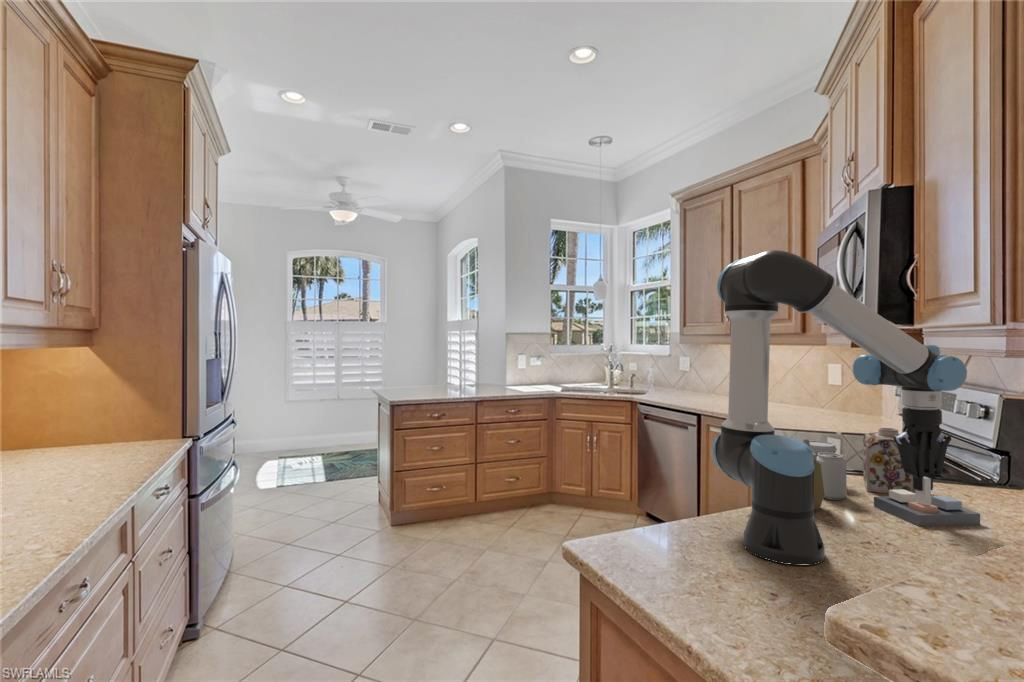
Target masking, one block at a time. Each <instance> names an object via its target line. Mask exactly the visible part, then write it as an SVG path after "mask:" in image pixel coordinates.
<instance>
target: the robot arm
mask: <svg viewBox="0 0 1024 682" xmlns="http://www.w3.org/2000/svg"><path fill="white" fill-rule="evenodd" d="M716 283H717V284H716V290H717V294H718V297H719V298H720V299H721V300H722V302H723V304H724V314H725V316H727V317H728V318H729V319H730V343H729V345H730V347H729V378H728V379H729V380H728V381H729V383H728V386H729V387H728V389H729V390H728V415H727V418H726V419H724V421H723V422H721V425H720V432H719V434H718V436H716V437H715V439H714V441H713V443H712V449H711V450H712V457H713V460H714V463H715V464H716V466H717V467H718V469H719V470H720V471H722V472H723V473H724V474H725V475H726V476H727V477H729V478H730V479H732V480H735V481H737V482H739V483H741V484H742V485H745V486H747V487H749V488H751V512H750V514H749V517H748V518H747V523H746V526H745V529H744V532H743V536H742V537H743V538H742V539H743V540H742V541H743V544H742V545H743V547H744V546H745V547H746V548H745V547H744V548H745V550H747V549H748V550H749V551H750V552H749V551H748V550H747V551H748V552H749V553H751V552H752V553H754V554H756V555H758V556H761V557H763V558H767V559H770V560H774V561H777V562H783V563H791V564H815V563H818V562H821V561H822V562H824V561H825V559H824V558H825V557H826V556H825V554H826V553H825V544H824V541H823V539H822V536H821V534H820V531H819V527H818V525H817V523H816V520H815V510H814V468H815V465H814V460H813V453H812V450H811V448H810V447H809V446H808V445H807V444H805V443H804V442H803V440H799V439H797V438H793V437H787V436H785V435H779V434H775V427H774V426H773V425H772V424H771V423H770V422H769V420H768V419H769V418H768V417H769V388H770V387H769V386H770V385H769V384H770V380H769V379H770V376H769V375H770V350H771V348H770V344H771V342H770V341H771V320H773V318H775V317H776V315H778V314H779V304H783V305H785V306H788V307H791V308H793V309H794V310H796V311H797V312H798V313H802V314H803V313H809V314H811V315H812V316H814V317H815V318H817V320H819V321H821V322H822V323H824V324H826V325H827V326H828V327H830V328H831V329H833V331H836V332H838V334H840V335H841V336H844V338H846V339H848V340H849V341H850V342H852V343H854V344H855V345H856V346H858V347H859V348H861V349H862V350H864V351H866V352H867V354H861V355H858V356H857V357H856V358H855V359H854V361H853V364H852V374H853V376H854V377H853V378H854V379H855V380H856V381H857V382H858V383H860V384H862V385H867V386H868V385H869V386H870V385H871V386H883V385H884V386H891V387H901V405H902V406H904V407H902V408H901V412H902V413H901V415H902V416H901V417H902V418H901V419H902V422H903V424H904V426H903V429H902V433H899V434H900V435H899V436H897V435H895V436H894V437H893V439H894V440H895V442H896V443H897V445H898V449H899V453H900V457H901V461H902V465H903V468H904V472H905V473H907V474H910V475H912V476H913V488H914V489H915V490H916V502H918V503H920V504H923V505H931V496H932V491H933V488H934V480H935V479H938V476H940V475H942V473H943V468H944V463H945V460H946V454H947V449H948V445H949V444H950V442H951V441H952V436H951V435H947V434H944V433H943V432H942V429H941V427H940V425H942V424H943V412H942V411H943V410H942V409H940V408H941V407H942V405H943V404H942V391H943V392H951V391H956V390H957V389H960V388H961V387H962V386H963V385H964V383H965V381H966V380H967V377H968V369H967V366H966V364H965V362H963V360H962V359H960V358H958V357H956V356H952V355H948V354H941V350H940V347H939V346H937V345H934V344H923V343H921V342H919V341H918V340H916V339H915V338H913V337H912V336H910V335H909V334H907V333H906V332H905V331H903V330H902V329H901V328H899V327H898V326H896V325H894V324H893V323H892V322H890V321H889V320H887V319H886V318H884V317H883V316H882V315H880V314H878V313H877V312H876V311H874V310H873V309H872V308H870V307H869V306H867V305H866V304H864V303H863V302H861V301H860V300H859V299H857V298H855V297H854V296H852V295H851V294H850V293H848V292H847V291H845V290H844V289H843V288H841V287H840V286H838V285H836V279H835V277H834V276H833V275H831V273H829V272H827V271H826V270H824V269H823V268H821V267H820V266H819V265H817V264H815V263H814V262H811V261H809V260H808V259H806V258H804V257H801V256H800V255H798V254H795V253H793V252H790V251H786V250H779V249H777V250H776V249H772V250H767V251H766V250H765V251H763V252H760V253H758V254H754V255H750V256H747V257H742V258H740V259H737V260H735V261H732V263H729V264H728V265H727V266H726V267H725V268H723V270H722V271H721V273H720V274H719V276H718V279H717V282H716ZM908 442H909V443H908ZM752 553H751V554H752ZM754 554H753V555H754ZM756 555H755V556H756ZM758 556H757V557H758ZM761 557H760V558H761ZM763 558H762V559H763ZM777 562H776V563H777ZM822 562H821V563H822ZM818 564H819V563H818ZM815 565H816V564H815Z"/></svg>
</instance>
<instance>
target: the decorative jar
mask: <svg viewBox="0 0 1024 682" xmlns="http://www.w3.org/2000/svg"><path fill="white" fill-rule="evenodd" d="M900 434H901V433H899V429H898V428H892V427H879V428H878V432H867V433H865V434H864V435H863V440H862V442H863V446H862V448H863V449H862V451H863V452H862V453H863V454H862V455H863V456H862V464H863V467H862V470H863V474H862V475H863V485H864V487H865V489H866V491H867V492H872V493H879V494H888V495H889V490H898V489H904V490H907V491H910V492H912V493H915V494H916V490H915V489H914V488H913V476H912V475H910V474H907V473H905V472H904V468H903V465H902V461H901V457H900V453H899V449H898V445H897V443H896V442H895V440H894V439H893V437H894V436H895V435H897V436H899V435H900ZM908 443H909V442H908Z"/></svg>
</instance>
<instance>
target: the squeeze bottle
mask: <svg viewBox="0 0 1024 682" xmlns="http://www.w3.org/2000/svg"><path fill="white" fill-rule="evenodd" d="M809 441H810V439H808V438H804V439H803V440H802V442H804V443H805V444H807V445H808V446H809V447H810V443H809ZM810 448H811V447H810ZM812 453H813V452H812ZM813 460H814V465H815V468H814V511H815V510H817V511H818V510H819V509H820V508H821V507H822V503H823V500H824V499H825V498H824V495H825V494H824V486H823V478H822V470H821V464H820V463H819V462H817V461H816V460H817V454H816V453H813Z"/></svg>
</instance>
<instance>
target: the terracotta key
mask: <svg viewBox="0 0 1024 682" xmlns="http://www.w3.org/2000/svg"><path fill="white" fill-rule="evenodd" d="M908 507H909V508H911V509H914V510H916V511H919V512H921V513H931V512H938V507H937V506H934V505H923V504H920V503H918V502H908Z"/></svg>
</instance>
